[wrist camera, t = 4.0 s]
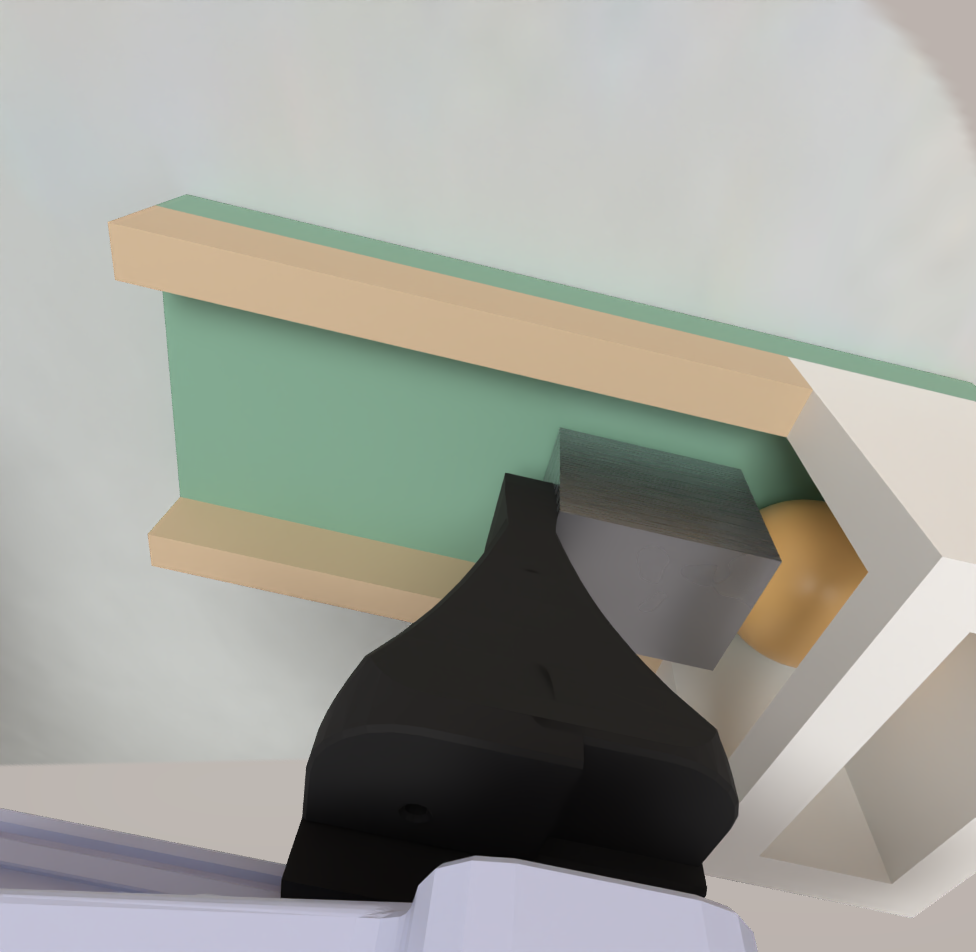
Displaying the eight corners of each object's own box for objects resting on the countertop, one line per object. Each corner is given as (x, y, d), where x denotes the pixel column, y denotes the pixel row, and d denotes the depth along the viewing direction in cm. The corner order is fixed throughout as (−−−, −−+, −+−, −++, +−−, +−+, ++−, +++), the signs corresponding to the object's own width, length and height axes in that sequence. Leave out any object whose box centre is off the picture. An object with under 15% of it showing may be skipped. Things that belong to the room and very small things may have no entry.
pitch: (204, 500, 17) (17, 731, 11) (186, 194, 13) (-138, 309, 7) (794, 632, 18) (912, 918, 12) (971, 382, 13) (1301, 638, 7)
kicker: (526, 534, 15) (519, 628, 12) (560, 427, 13) (559, 511, 11) (687, 570, 15) (713, 670, 13) (740, 469, 13) (782, 561, 11)
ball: (753, 718, 12) (882, 695, 13) (847, 590, 10) (988, 577, 11) (663, 587, 15) (778, 578, 16) (724, 466, 13) (849, 466, 14)
